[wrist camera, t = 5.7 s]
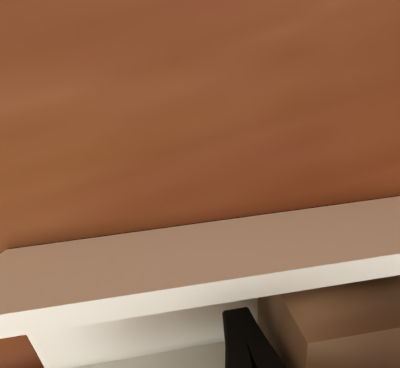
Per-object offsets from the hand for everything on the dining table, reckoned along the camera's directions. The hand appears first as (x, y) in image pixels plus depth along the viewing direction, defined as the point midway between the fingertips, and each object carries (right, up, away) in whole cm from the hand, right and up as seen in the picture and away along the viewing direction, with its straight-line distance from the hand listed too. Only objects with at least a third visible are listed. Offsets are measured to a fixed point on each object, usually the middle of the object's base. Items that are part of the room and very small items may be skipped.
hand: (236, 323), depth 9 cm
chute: (0, +1, +2) cm, 2 cm away
